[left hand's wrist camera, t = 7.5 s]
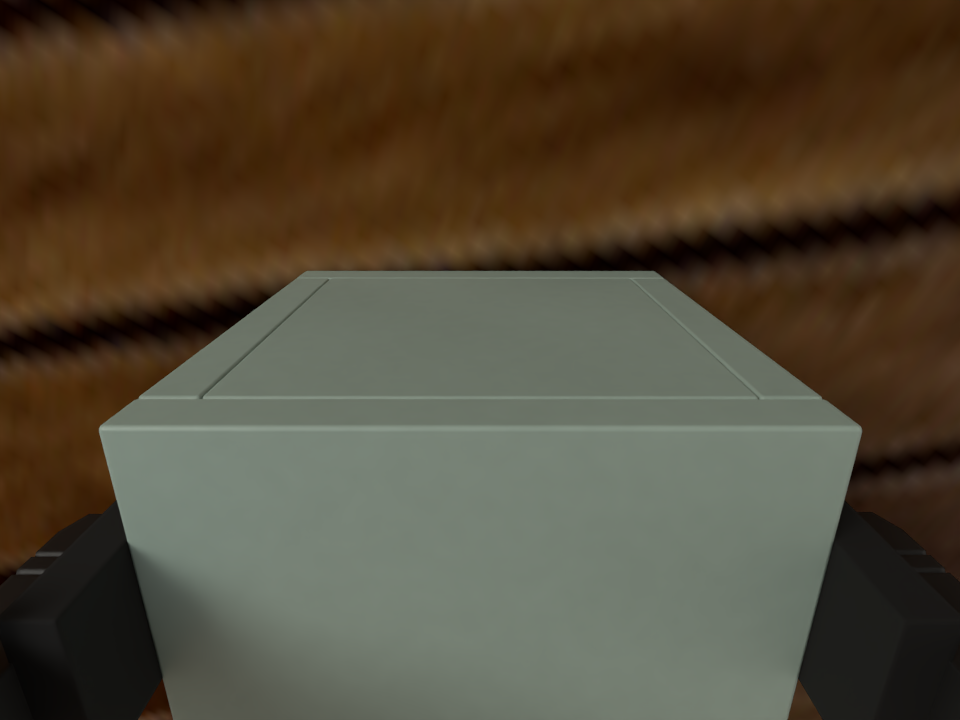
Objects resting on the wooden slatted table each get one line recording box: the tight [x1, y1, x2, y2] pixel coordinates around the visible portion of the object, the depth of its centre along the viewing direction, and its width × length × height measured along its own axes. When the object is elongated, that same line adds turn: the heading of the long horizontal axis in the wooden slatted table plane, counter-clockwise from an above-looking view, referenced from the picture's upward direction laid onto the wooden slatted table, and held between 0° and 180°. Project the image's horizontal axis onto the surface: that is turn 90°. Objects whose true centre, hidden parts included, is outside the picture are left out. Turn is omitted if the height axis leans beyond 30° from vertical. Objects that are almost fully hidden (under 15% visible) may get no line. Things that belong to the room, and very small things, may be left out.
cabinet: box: [99, 271, 862, 720], centre depth 16 cm, size 17×10×10 cm, turn 0°
